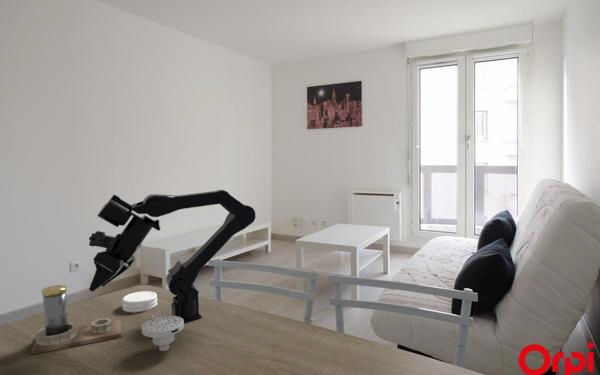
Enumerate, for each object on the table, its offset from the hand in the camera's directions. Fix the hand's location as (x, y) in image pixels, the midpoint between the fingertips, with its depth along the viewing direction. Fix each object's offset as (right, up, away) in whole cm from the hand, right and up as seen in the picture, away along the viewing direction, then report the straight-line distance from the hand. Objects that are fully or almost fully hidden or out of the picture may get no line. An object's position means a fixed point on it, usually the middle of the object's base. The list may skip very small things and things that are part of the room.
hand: (96, 288), depth 101 cm
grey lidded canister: (-8, -12, -3) cm, 14 cm away
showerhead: (+20, -13, -8) cm, 25 cm away
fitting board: (-4, -12, -1) cm, 13 cm away
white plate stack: (+3, -11, +20) cm, 23 cm away
